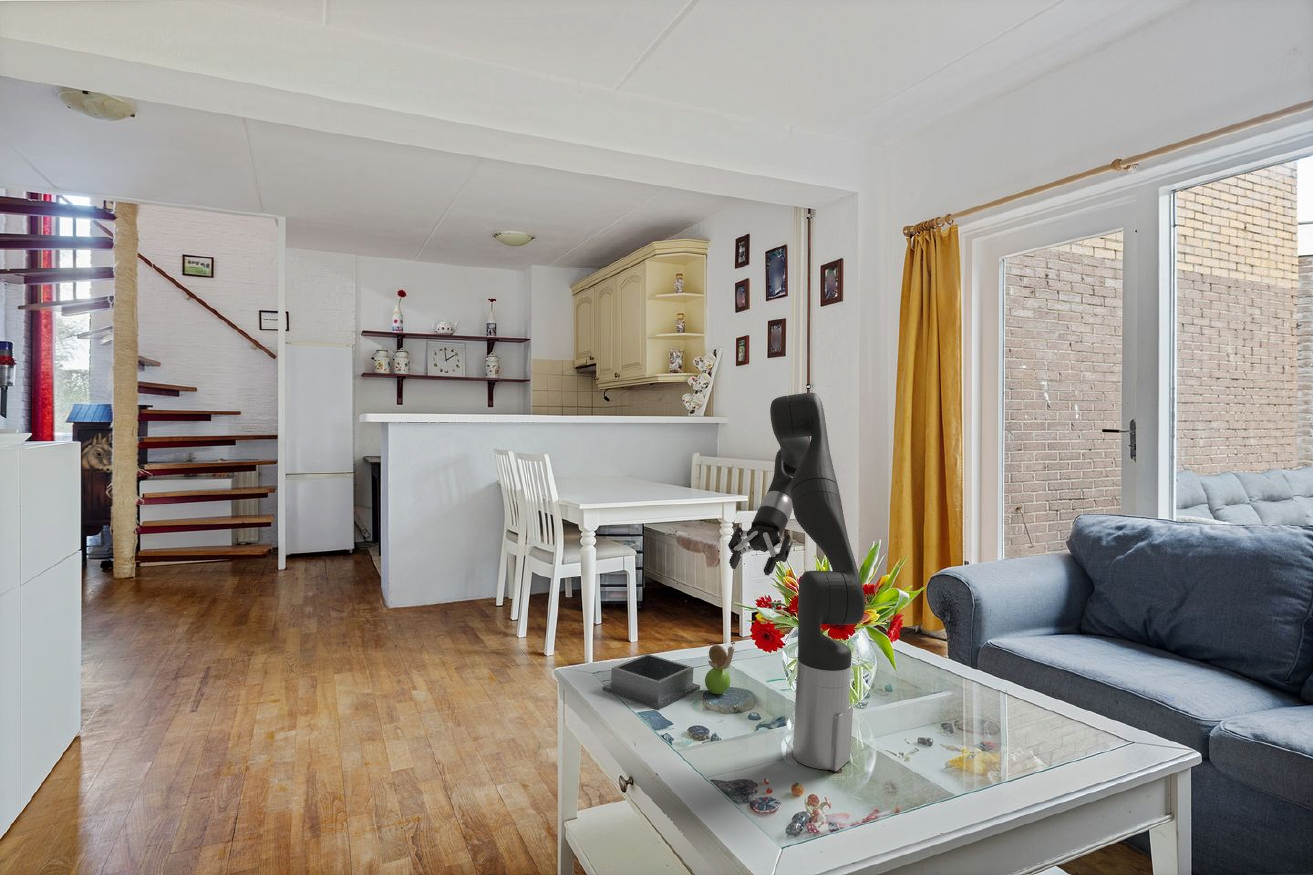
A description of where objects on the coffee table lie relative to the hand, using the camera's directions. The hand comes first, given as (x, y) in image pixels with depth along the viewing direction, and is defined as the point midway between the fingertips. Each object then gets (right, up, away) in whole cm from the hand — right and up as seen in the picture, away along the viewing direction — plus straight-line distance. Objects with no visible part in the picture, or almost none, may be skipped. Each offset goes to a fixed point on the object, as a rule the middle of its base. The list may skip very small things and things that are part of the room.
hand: (748, 570), depth 168 cm
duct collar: (-22, -24, -8) cm, 34 cm away
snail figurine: (-8, -25, -9) cm, 28 cm away
